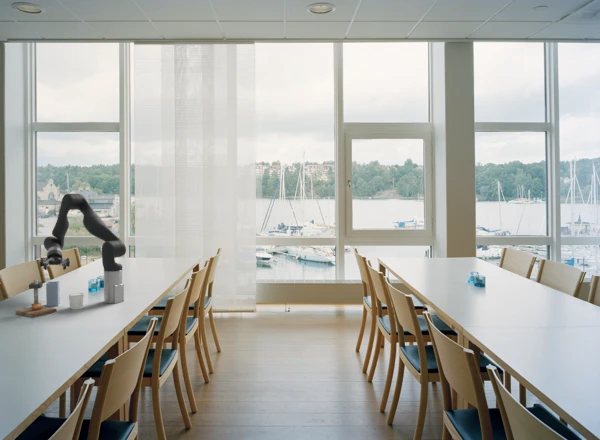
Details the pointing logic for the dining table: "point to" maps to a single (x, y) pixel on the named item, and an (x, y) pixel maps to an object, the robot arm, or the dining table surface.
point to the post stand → (36, 307)
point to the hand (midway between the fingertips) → (55, 268)
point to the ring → (35, 285)
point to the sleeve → (53, 293)
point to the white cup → (76, 300)
